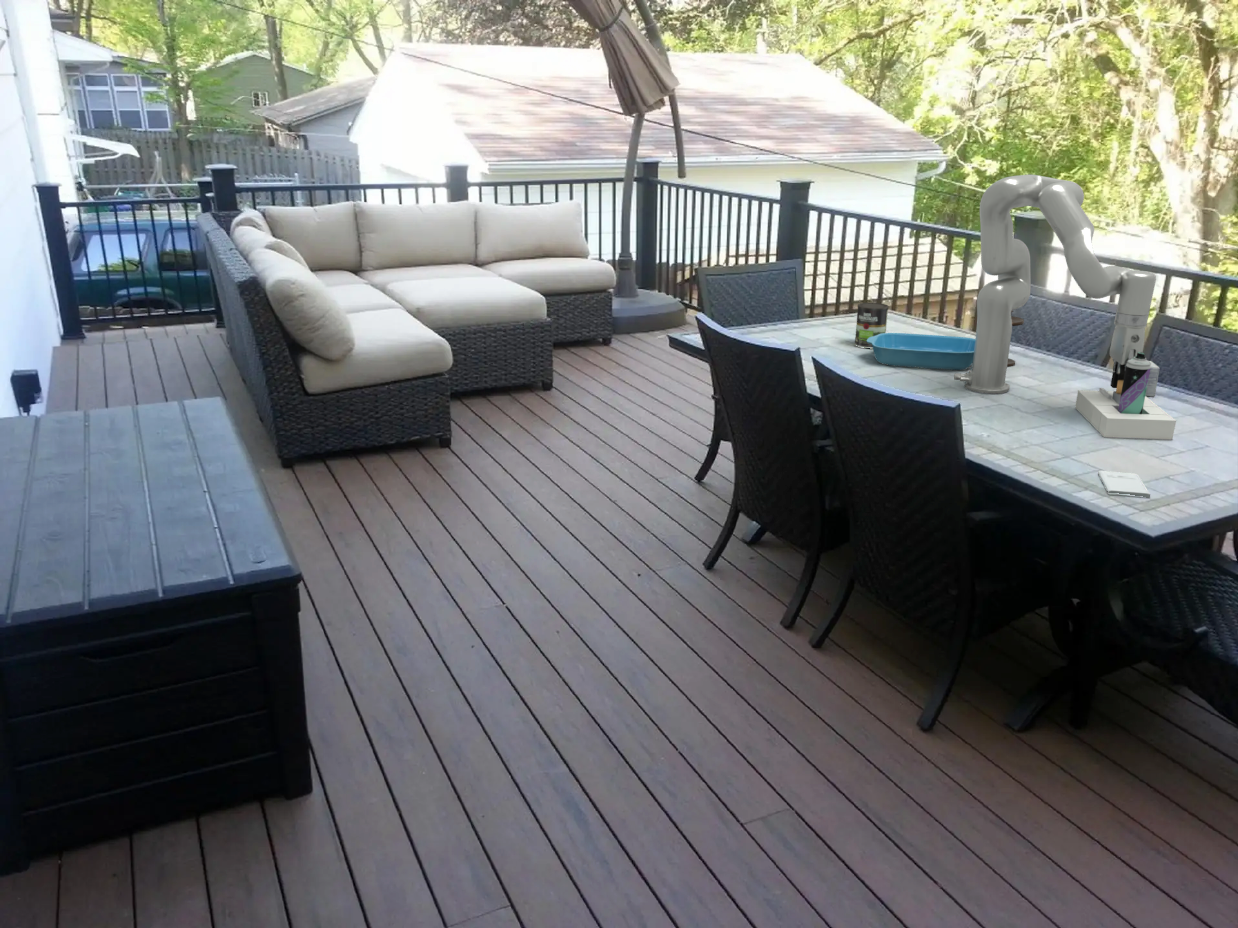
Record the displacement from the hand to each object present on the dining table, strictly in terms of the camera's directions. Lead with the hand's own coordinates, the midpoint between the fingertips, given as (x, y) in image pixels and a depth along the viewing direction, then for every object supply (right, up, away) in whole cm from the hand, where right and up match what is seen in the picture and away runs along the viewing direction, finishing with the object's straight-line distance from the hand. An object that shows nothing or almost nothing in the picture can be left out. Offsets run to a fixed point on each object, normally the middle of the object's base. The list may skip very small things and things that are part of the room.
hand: (1117, 387), depth 256 cm
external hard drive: (-22, -26, -44) cm, 55 cm away
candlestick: (-10, +12, +54) cm, 56 cm away
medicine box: (+18, 0, +22) cm, 28 cm away
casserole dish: (-34, +12, +57) cm, 67 cm away
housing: (-1, -10, -4) cm, 10 cm away
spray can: (-2, -11, -8) cm, 14 cm away
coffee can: (-46, +20, +78) cm, 93 cm away
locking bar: (-1, -4, -4) cm, 6 cm away
